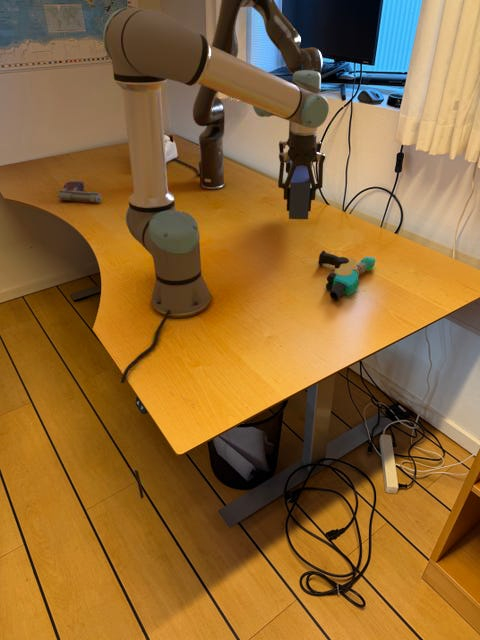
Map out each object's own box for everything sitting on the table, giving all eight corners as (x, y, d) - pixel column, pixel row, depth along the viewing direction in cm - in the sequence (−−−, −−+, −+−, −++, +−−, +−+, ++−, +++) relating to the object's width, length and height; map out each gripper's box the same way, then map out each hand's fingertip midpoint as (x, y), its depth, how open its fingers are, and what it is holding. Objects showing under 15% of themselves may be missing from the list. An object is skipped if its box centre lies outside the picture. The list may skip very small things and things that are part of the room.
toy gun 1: (114, 191, 191) (98, 206, 179) (71, 188, 194) (53, 202, 182) (113, 181, 188) (96, 196, 177) (69, 179, 192) (50, 192, 180)
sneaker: (133, 173, 208) (129, 144, 201) (161, 153, 230) (158, 127, 223) (155, 175, 205) (151, 146, 198) (180, 155, 227) (178, 129, 220)
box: (307, 219, 147) (310, 182, 140) (288, 219, 147) (290, 182, 140) (305, 191, 166) (307, 158, 159) (288, 191, 166) (290, 157, 159)
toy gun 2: (295, 281, 124) (351, 295, 119) (328, 242, 143) (378, 253, 137) (294, 295, 127) (349, 310, 121) (327, 255, 145) (375, 266, 140)
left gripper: (335, 129, 137) (328, 205, 151) (270, 128, 138) (268, 204, 152) (338, 136, 131) (329, 214, 145) (269, 135, 132) (267, 213, 146)
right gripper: (323, 118, 152) (319, 170, 162) (278, 118, 153) (276, 170, 163) (325, 124, 146) (320, 178, 156) (278, 123, 147) (276, 177, 157)
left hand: (298, 209), depth 148 cm, fingers closed on box, 6 cm apart
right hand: (298, 173), depth 159 cm, fingers closed on box, 6 cm apart
